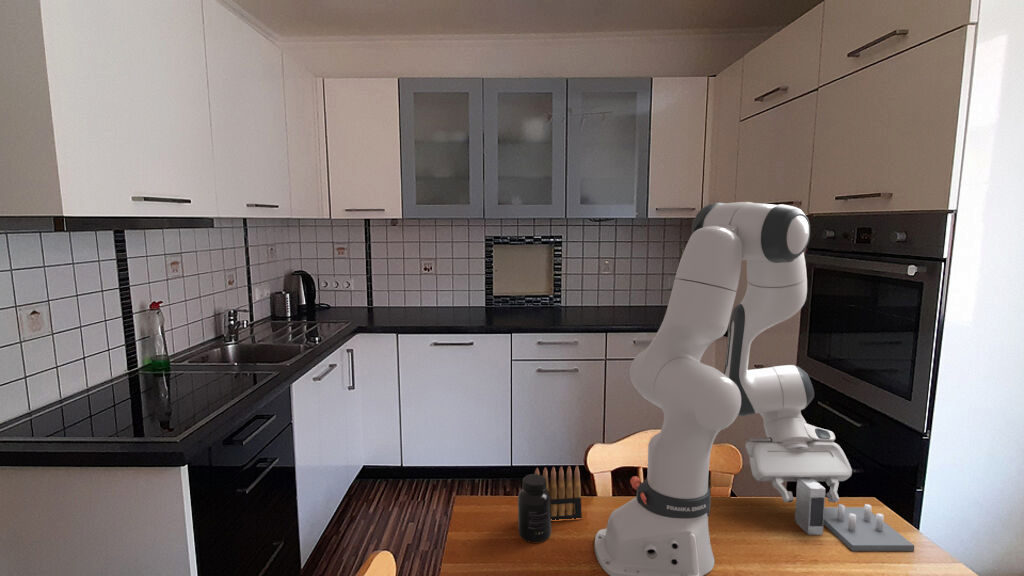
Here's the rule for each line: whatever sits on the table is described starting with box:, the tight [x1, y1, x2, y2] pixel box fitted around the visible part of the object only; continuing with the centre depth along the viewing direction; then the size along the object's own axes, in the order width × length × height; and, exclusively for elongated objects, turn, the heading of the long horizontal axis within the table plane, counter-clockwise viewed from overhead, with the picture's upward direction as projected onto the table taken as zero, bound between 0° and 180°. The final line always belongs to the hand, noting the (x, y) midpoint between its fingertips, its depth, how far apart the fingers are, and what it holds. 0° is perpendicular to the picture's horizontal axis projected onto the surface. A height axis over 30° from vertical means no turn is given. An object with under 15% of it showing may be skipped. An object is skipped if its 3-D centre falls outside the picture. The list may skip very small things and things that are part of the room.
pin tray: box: [823, 503, 915, 552], centre depth 107 cm, size 12×14×4 cm
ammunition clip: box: [534, 465, 583, 520], centre depth 111 cm, size 11×2×12 cm, turn 98°
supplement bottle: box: [517, 473, 552, 543], centre depth 105 cm, size 7×7×12 cm
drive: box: [794, 477, 826, 536], centre depth 107 cm, size 3×5×10 cm, turn 0°
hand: (811, 501), depth 107 cm, fingers open, 8 cm apart
